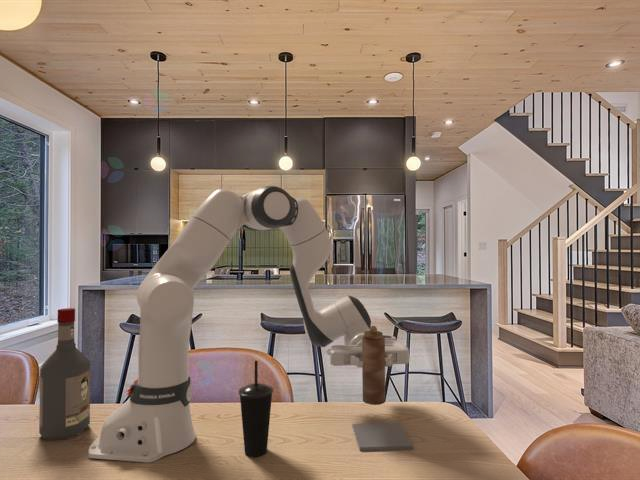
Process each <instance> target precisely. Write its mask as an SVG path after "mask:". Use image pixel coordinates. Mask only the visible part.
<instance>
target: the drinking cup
mask: <svg viewBox="0 0 640 480" xmlns="http://www.w3.org/2000/svg"><path fill="white" fill-rule="evenodd" d="M258 365H259V364H258V360H254V382H253V383H249V384H247V385H244V386H243V387H240V388H239V389H238V395H239V399H240V411H241V412H240V413H241V423H242V435H243V436H242V437H243V445H244V446H243V448H244V454H245V456H247V457H250V458H260V457H263V456H264V455H265V454H266V453H267V452H268V442H269V432H270V431H269V430H270V420H271V419H270V418H271V410H272V409H271V408H272V399H273V398H272V396H273V393H274V388H273V386H271V385H269V384H265V383H261V382H259V381H258V380H259V378H258V376H259V375H258V371H259V370H258V369H259V367H258Z"/></svg>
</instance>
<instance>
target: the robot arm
mask: <svg viewBox="0 0 640 480" xmlns="http://www.w3.org/2000/svg"><path fill="white" fill-rule="evenodd" d="M240 228H245V229H248V230H251V231H258V230H259V231H267V230H272V229H279V230H280V231H281V232H282V233H283V234H284V235H285V237H286V239H287V242H288V244H289V246H290V249H291V251H292V262H291V263H290V265H289V274H290V278H291V282H292V286H293V290H294V292H295V296H296V300H297V303H298V307H299V309H300V312H301V315H302V318H303V327H304V332H305V334H306V337H307V339H308V341H309V343H311V345H313V346H317V347H319V348H320V347H321V348H325V347H327V346H329V345H330V344H332V343H333V342H334V341H335V340H337V339H340V338H342V337H343V343H344V344H336V345H335V344H334V345H332V346H330V348H329V349H326V353H327V355H328V356H329V363H330V365H331V366H333V367H334V366H335V367H341V366H342V367H343V366H345V367H347V366H354V367H355V366H356V368H362V367H363V360H362V337H363V336H364V332H366V331H370V327H371V326H372V320H371V318H370V315H369V312H368V311H367V309H366V308H365V306H364V304H363V303H362V302H361V301H360V300H359V299H358V298H357V297H356V296H353V295H346V296H344V297H342V298H340V299H338V300H336V301H334V302H332V303H330V304H328V305H327V306H325V307H324V308H321V309H319V310H315V306H314V303H313V300H312V296H311V293H310V289H309V287H310V286H309V285H310V282H311V281H312V279H313V277H314V276H315V275H316V273H317V272H318V271H319V270H321V268H322V267H323V266H324V265H325V263H326V262H327V260H328V259H329V258H330V256H331V252H332V249H333V248H332V241H331V238H330V235H329V233H328V230H327V227H326V225H325V224H324V222H323V220H322V218H321V217H320V215H319V213H318V212H317V211H316V208H314V206H313V205H312V204H311V202H310V201H309V200H308V199H306V198H304V197H303V198H302V197H295V198H294V197H293V196H292V195H291V194H290V193H289V192H287V191H286V190H285V189H283V188H282V187H280V186H275V185H267V186H262V187H259V188H254V189H252V190H250V191H249V192H246V193H244V194H242V195H239V194H237V193H236V192H234V191H233V190H230V189H226V188H219V189H216V190H214V191H213V192H212V193H211V194H209V196H208V197H206V199H205V200H203V202H202V203H201V204H200V205H199V206H198V207H197V209H196V210H195V211H194V212H193V214H192V215H191V217H190V218H189V220H188V221H187V222H186V224H184V227H183V228H182V230H181V231H180V232H179V234H178V235H177V236H176V238H175V240H174V241H173V242H172V243H171V245H170V246H169V247H168V248H167V250H166V251H165V252H164V254H163V255H162V256H160V258H159V260H158V261H157V262H156V263H155V264H154V266H153V267H152V268H151V269H150V271H149V273H148V274H147V275H146V276H145V277H144V279H143V280H142V282H141V283H140V284H139V287H138V288H137V290H136V291H137V292H136V299H137V304H138V306H139V309H140V316H139V317H140V319H139V321H140V322H139V338H138V350H137V354H138V355H137V361H138V362H137V378H136V379H135V380H134V381H133V384H131V385H130V386H129V388H128V389H127V390H126V392H127V393H126V396H129V399H128V400H126V401H125V402H124V403H122V404H121V405H120V406H119V407H118V408H116V409H115V410H114V411H113V412H111V414H109V416H108V417H107V418H106V419H105V420H104V422H103V425H102V427H101V432H100V435H98V436H97V438H95V439H94V440H93V442H92V443H91V444H90V446H89V447H88V451H87V457H88V458H89V459H98V460H109V461H110V460H111V461H122V462H123V461H124V462H125V461H126V462H135V463H136V462H137V463H139V462H140V463H153V462H156V461H158V460H159V459H161V458H164V457H165V456H168V455H171V454H175V453H177V452H179V451H181V450H184V449H186V448H187V447H189V446H190V445H191V444H193V443H194V441H195V440H196V438H197V437H196V435H197V434H196V432H195V430H194V425H193V422H192V421H193V420H192V413H191V407H190V403H191V398H192V385H191V377H190V376H189V374H190V373H189V371H190V370H189V369H190V368H189V362H190V360H189V359H190V357H189V355H190V353H189V351H190V346H189V345H190V338H191V337H190V336H191V332H192V331H191V330H192V324H193V323H192V322H193V314H194V312H193V311H194V305H195V298H194V292H193V291H194V289H195V288H196V287H197V285H198V284H199V283H200V282H201V280H203V278H204V277H205V276H206V275H207V274H208V273H209V272H210V271H211V270H212V269H213V268H214V267H215V265H216V263H217V262H218V260H219V259H220V257H221V256H222V254H223V252H224V251H225V250H226V248H227V247H228V245H229V243H230V242H231V241H232V238H233V237H234V236H235V234H236V232H237V231H238V230H239V229H240ZM383 337H384V338H385V368H388V367H389V368H390V367H392V365H407V364H409V363H410V349H409V348H408V347H407V346H406V345H405V344H404V343H402V342H401V341H399V340H397V337H396V336H392V335H384V334H383Z"/></svg>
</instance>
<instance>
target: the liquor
mask: <svg viewBox="0 0 640 480" xmlns="http://www.w3.org/2000/svg"><path fill="white" fill-rule="evenodd" d="M75 322H76V308H74V307H73V308H71V307H69V308H59V309H57V322H56V323H57V328H58V329H57V344H56V347H55V348H56V349H55V350H54V351H53V352H52V353H51V354H50V356H49V357H47V359H46V360H44V362H43V363H42V365H41V367H40V369H39V420H38V421H39V425H38V427H39V430H38V432H39V434H40V436H41V437H42V438H43V440H67V439H70V438H69V437H71V438H73V436H74V437H77V436H78V435H79V434H81V433H82V432H83V431H84V430H86V429H87V428H88V427H89V425H90V423H91V422H90V421H91V362H90V359H89V358H88V357H87V356H86V355H85V354H84V353H83V352H82V351H80V350H79V349H78V348H77V347H76V345H77V344H76V342H75ZM66 438H67V439H66Z"/></svg>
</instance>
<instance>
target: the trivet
mask: <svg viewBox="0 0 640 480" xmlns="http://www.w3.org/2000/svg"><path fill="white" fill-rule="evenodd" d="M351 425H352V426H351V427H352V430H353V431H352V432H354V436H355V440H356V443H357V446H358V449H359V450H358V451H360V452H364V451H366V452H367V451H369V452H370V451H393V450H394V451H397V450H399V451H400V450H401V451H403V450H414V445H413V443H412V441H411V440H410V438H409V437H408V435H407V432H406V431H405V430H404V428H403V426H402V425H401V423H400V422H372V423H370V422H369V423H368V422H367V423H366V422H365V423H352V424H351Z"/></svg>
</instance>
